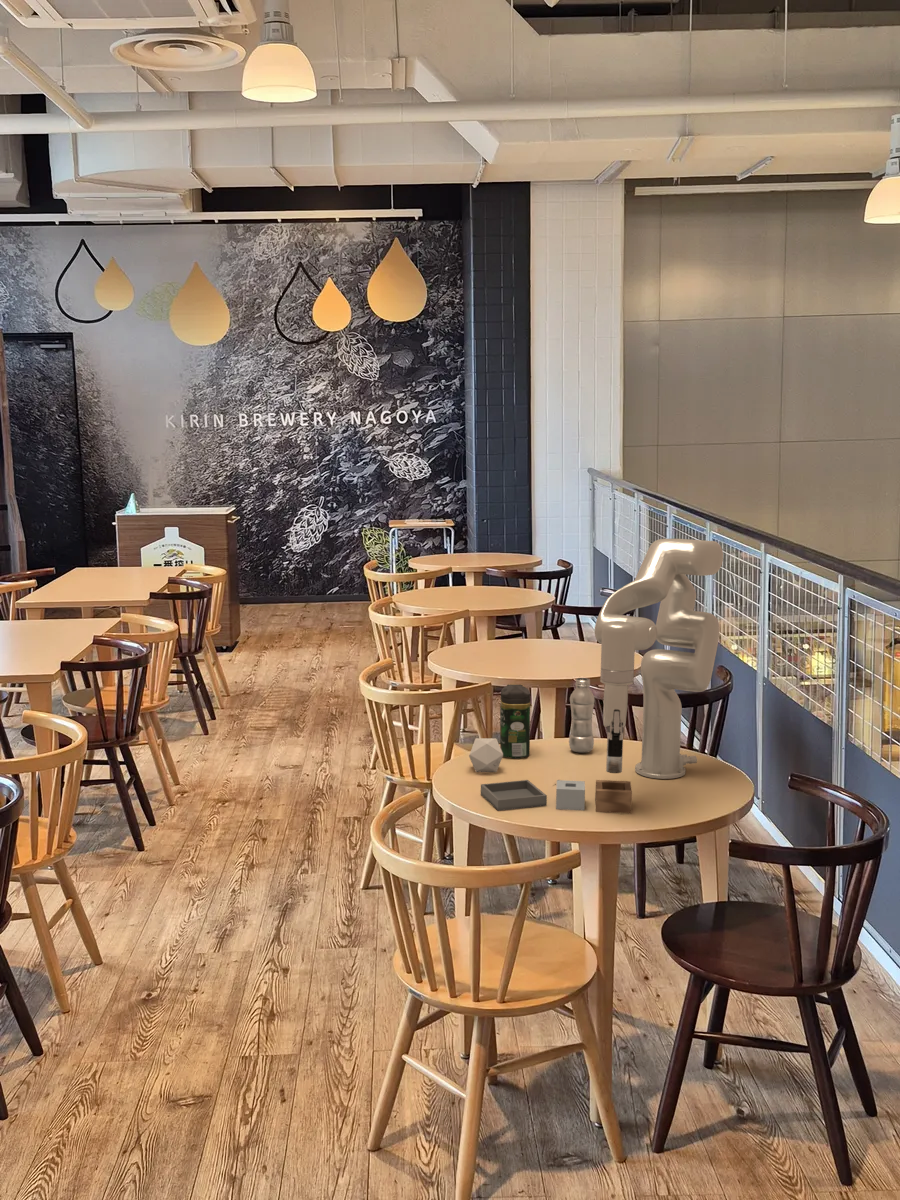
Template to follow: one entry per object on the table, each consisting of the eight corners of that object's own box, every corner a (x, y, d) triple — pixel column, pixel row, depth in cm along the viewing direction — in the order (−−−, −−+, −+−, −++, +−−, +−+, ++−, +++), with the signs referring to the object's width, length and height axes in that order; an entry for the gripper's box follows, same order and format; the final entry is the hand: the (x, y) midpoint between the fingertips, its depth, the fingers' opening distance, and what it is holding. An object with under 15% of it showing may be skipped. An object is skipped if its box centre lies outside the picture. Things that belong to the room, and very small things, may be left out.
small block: (584, 801, 272) (584, 781, 271) (584, 811, 266) (584, 790, 265) (556, 800, 273) (556, 780, 272) (555, 809, 266) (556, 788, 266)
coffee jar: (498, 749, 314) (499, 682, 311) (527, 749, 314) (529, 682, 311) (500, 759, 304) (501, 690, 301) (530, 759, 304) (532, 690, 301)
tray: (527, 789, 280) (527, 779, 279) (546, 805, 268) (546, 795, 268) (480, 794, 276) (480, 784, 276) (497, 810, 265) (498, 800, 264)
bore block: (629, 801, 272) (630, 781, 271) (631, 813, 264) (631, 792, 263) (595, 800, 273) (595, 779, 272) (595, 811, 265) (596, 790, 264)
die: (491, 780, 289) (512, 746, 291) (461, 761, 290) (481, 727, 291) (490, 782, 297) (510, 748, 299) (460, 763, 298) (480, 730, 300)
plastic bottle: (593, 756, 308) (595, 682, 305) (567, 754, 309) (569, 681, 306) (594, 749, 314) (596, 677, 311) (569, 747, 315) (571, 676, 312)
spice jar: (617, 767, 269) (619, 722, 267) (624, 772, 266) (626, 726, 264) (603, 769, 268) (604, 723, 266) (610, 774, 264) (611, 727, 263)
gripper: (599, 667, 272) (597, 743, 275) (601, 683, 255) (598, 763, 258) (632, 668, 271) (629, 744, 274) (635, 684, 255) (632, 765, 258)
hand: (614, 753), depth 266 cm, fingers closed on spice jar, 3 cm apart
